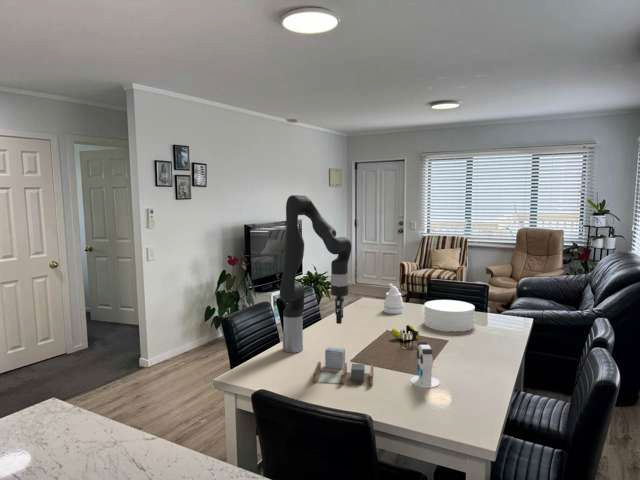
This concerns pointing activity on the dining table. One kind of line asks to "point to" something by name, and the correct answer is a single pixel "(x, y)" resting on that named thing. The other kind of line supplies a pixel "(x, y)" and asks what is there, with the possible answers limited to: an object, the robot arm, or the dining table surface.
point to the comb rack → (340, 377)
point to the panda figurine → (424, 367)
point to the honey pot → (393, 301)
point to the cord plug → (357, 372)
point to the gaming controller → (408, 328)
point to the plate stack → (449, 315)
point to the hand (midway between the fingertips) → (339, 320)
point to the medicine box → (334, 358)
